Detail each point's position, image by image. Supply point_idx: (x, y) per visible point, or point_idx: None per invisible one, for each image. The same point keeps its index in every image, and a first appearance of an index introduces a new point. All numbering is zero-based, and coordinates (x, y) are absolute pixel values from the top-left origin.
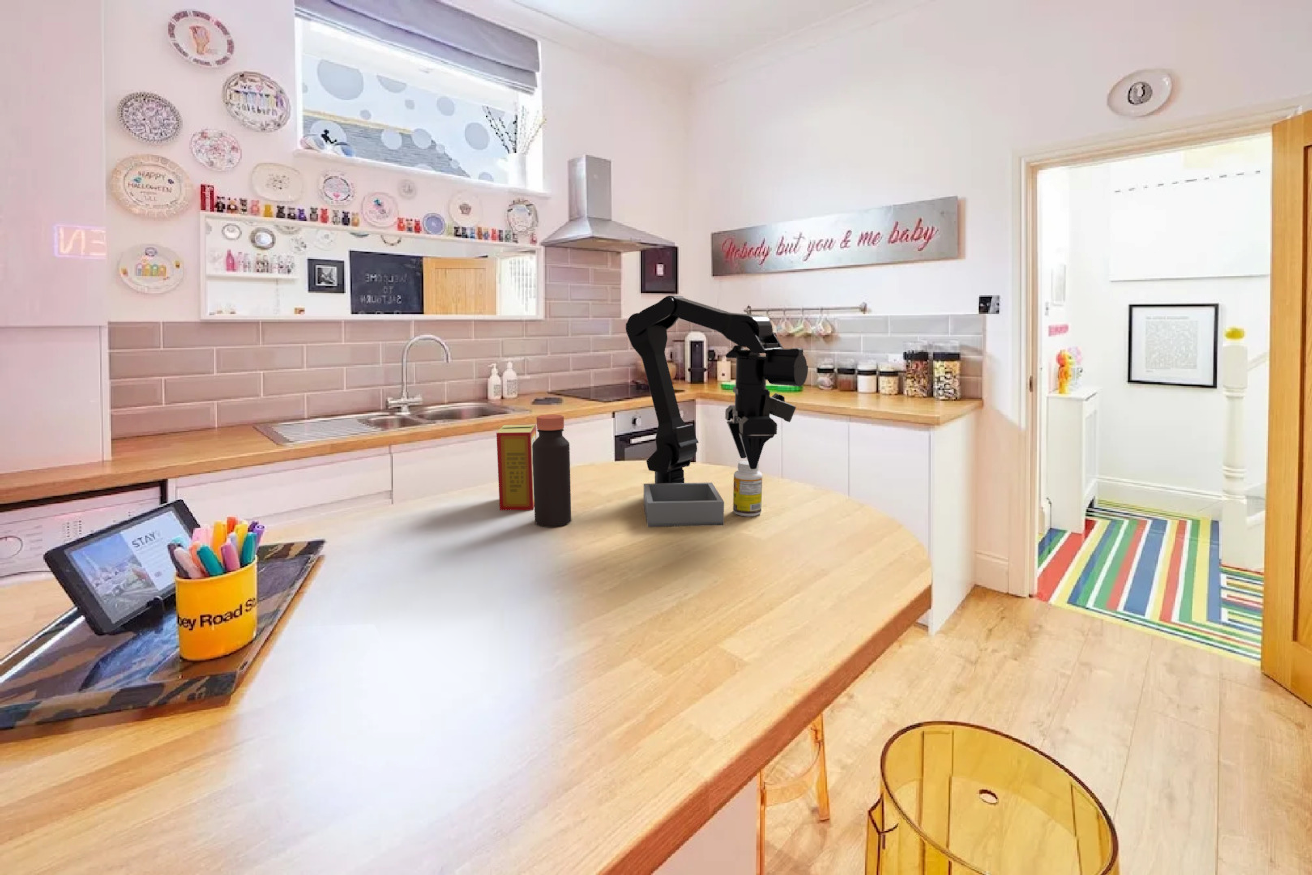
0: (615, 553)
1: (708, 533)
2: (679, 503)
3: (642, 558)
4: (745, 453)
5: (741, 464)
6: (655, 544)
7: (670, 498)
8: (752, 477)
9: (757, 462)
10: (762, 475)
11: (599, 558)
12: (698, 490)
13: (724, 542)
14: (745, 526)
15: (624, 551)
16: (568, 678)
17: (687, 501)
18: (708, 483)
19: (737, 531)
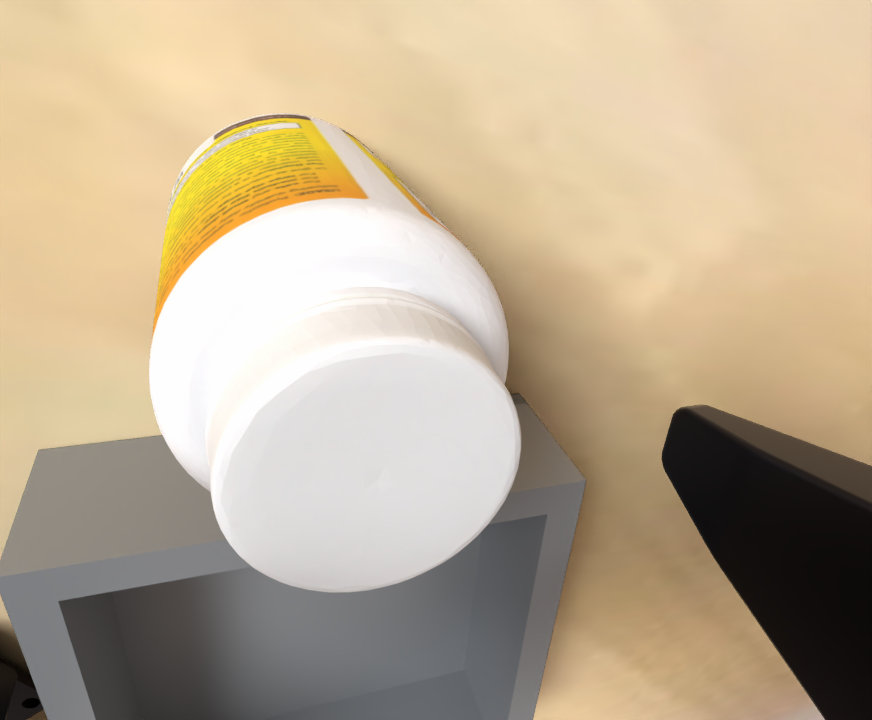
0: (694, 683)
1: (611, 458)
2: (541, 669)
3: (756, 620)
4: (815, 677)
5: (451, 551)
6: (664, 611)
7: (126, 694)
8: (508, 354)
9: (791, 445)
10: (403, 213)
11: (713, 704)
12: (83, 610)
13: (732, 399)
14: (560, 279)
15: (688, 669)
16: None
17: (532, 646)
18: (44, 598)
19: (623, 332)
